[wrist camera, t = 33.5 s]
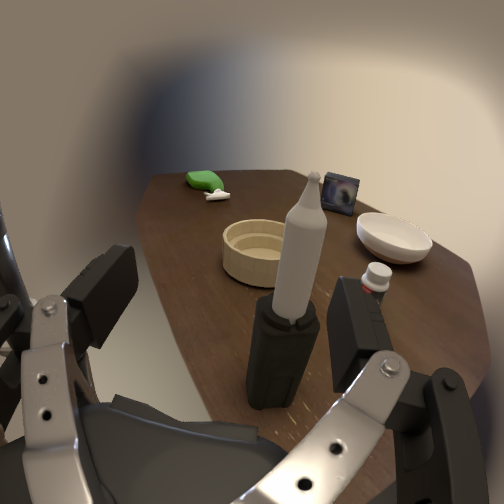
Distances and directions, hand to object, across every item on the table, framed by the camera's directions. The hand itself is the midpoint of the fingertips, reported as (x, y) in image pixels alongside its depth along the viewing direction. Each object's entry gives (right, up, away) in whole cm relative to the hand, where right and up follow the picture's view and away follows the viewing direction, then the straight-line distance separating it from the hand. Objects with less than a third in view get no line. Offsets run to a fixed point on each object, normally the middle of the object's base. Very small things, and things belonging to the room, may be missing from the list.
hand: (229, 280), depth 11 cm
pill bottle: (+19, -9, +34) cm, 40 cm away
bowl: (+34, +1, +53) cm, 63 cm away
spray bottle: (-13, +21, +80) cm, 84 cm away
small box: (+27, +14, +74) cm, 80 cm away
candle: (+3, -15, +20) cm, 25 cm away
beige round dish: (+3, -1, +43) cm, 43 cm away
